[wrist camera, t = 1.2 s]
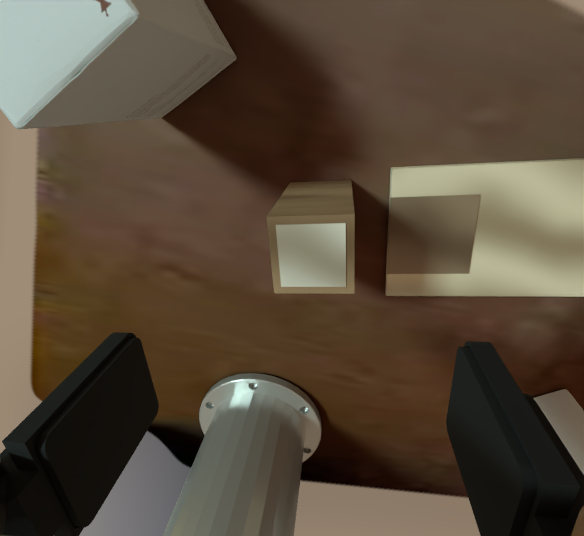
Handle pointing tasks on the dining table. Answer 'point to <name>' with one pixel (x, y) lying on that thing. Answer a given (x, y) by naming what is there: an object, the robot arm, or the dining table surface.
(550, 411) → the milk carton
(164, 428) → the dining table surface
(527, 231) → the board
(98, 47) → the supplement box
